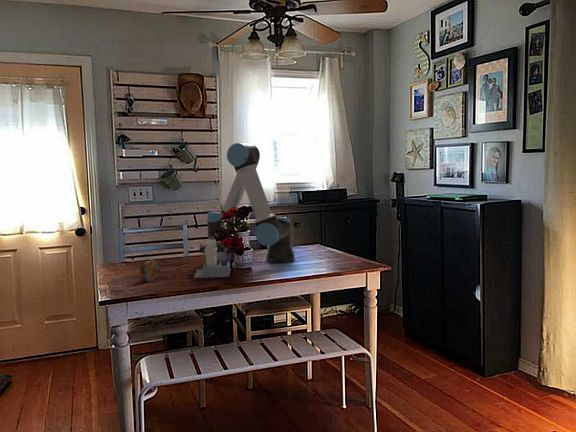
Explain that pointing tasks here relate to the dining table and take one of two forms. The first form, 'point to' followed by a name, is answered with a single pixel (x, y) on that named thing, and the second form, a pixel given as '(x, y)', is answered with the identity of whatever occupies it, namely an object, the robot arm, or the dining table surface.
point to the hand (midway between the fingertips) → (210, 252)
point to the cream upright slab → (211, 253)
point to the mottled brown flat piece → (149, 270)
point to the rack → (213, 271)
